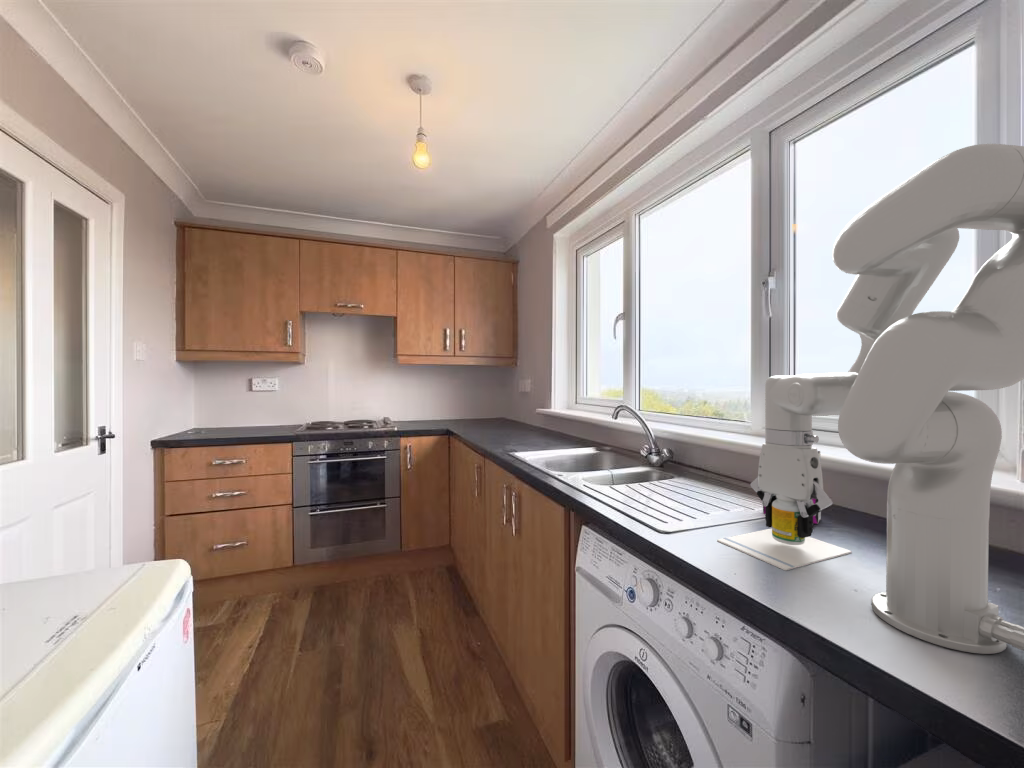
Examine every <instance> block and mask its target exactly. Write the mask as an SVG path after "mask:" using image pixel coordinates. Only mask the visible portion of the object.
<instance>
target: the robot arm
mask: <svg viewBox="0 0 1024 768" xmlns="http://www.w3.org/2000/svg"><path fill="white" fill-rule="evenodd" d="M959 229H967V230H981V231H982V230H983V231H985V230H987V231H1006V232H1008V233H1010V234H1012V237H1011V239H1010V240H1009V241H1008V242H1007V243H1006V244H1005V245H1004V246H1002V247H1001V248H1000V249H999V250H997V251H996V252H994V254H993V255H991V257H990V258H989V259H988V260H986V261H985V263H984V264H983V265H981V267H980V268H979V269H978V271H977V272H976V274H975V275H974V277H973V278H972V280H971V282H970V284H969V286H968V288H967V290H966V292H965V293H964V295H963V296H962V298H961V299H960V301H959V302H958V303H957V305H956V306H955V307H954V308H953V309H952V310H951V311H948V310H947V311H946V310H945V311H943V310H941V311H939V310H938V311H923V312H917V313H914V312H915V310H916V309H917V308H918V306H919V304H920V303H921V302H922V300H923V298H925V296H926V294H927V293H928V291H929V290H930V288H931V287H932V286H933V284H934V283H935V281H936V280H937V278H938V277H939V276H940V274H941V272H942V271H943V269H944V267H945V266H946V265H947V263H948V262H949V261H950V259H951V257H952V256H953V255H954V253H955V251H956V249H957V246H958V245H959V243H960V242H959V241H960V231H959ZM831 258H832V260H833V263H834V266H835V267H836V268H837V269H838V270H839V271H841V272H843V273H846V274H849V275H856V276H855V278H854V280H853V282H852V283H851V285H850V287H849V288H848V291H847V293H846V294H845V296H844V298H843V300H842V301H841V304H840V305H839V307H838V308H837V310H836V319H837V320H838V322H839V323H840V324H841V325H842V326H843V327H845V328H846V329H848V330H850V331H852V332H854V333H856V334H858V335H859V337H860V340H861V341H860V342H861V346H860V347H861V348H860V351H859V353H858V355H857V358H856V359H855V360H854V362H853V364H852V365H851V367H850V369H849V370H848V372H825V373H824V372H823V373H816V372H814V373H813V372H812V373H810V372H809V373H802V374H795V375H793V374H792V375H791V374H790V375H789V374H788V375H786V374H784V375H773V376H769V377H768V378H767V379H766V380H765V383H764V384H765V385H764V386H765V387H764V388H765V389H764V391H765V393H764V394H765V397H764V398H765V399H764V400H765V403H764V406H765V407H764V409H765V410H764V411H765V412H764V413H765V414H764V415H765V416H764V417H765V421H764V422H765V430H764V434H765V437H764V439H765V442H762V445H761V448H760V454H759V461H758V468H757V469H758V470H757V472H758V473H757V476H756V478H755V479H754V480H753V481H751V483H750V484H749V485H750V488H752V490H753V491H754V492H755V493H756V495H757V496H758V498H759V499H760V501H761V505H762V506H763V505H764V506H765V514H764V517H765V525H766V526H765V527H767V528H772V502H773V501H774V500H777V499H778V498H776V495H780V494H782V495H783V496H785V497H788V498H790V499H794V500H796V501H797V504H798V507H799V510H800V514H801V516H798V517H797V535H798V537H800V538H805V537H811V536H812V534H813V532H814V523H813V516H815V515H816V514H817V513H819V512H820V511H821V512H822V511H823V510H825V509H826V508H828V507H831V506H832V505H833V504H834V503H833V500H832V499H831V497H829V495H828V494H827V492H825V490H824V481H823V479H824V478H823V471H822V470H823V469H822V464H821V457H820V458H819V454H818V451H819V450H818V448H817V447H813V446H812V445H813V444H814V443H815V444H816V443H819V440H820V438H819V436H818V435H814V434H813V433H814V432H813V427H812V426H813V419H812V417H824V416H825V417H828V416H829V417H830V416H838V420H837V431H838V435H839V439H840V441H841V443H842V444H843V446H844V448H845V449H847V451H848V452H849V453H850V454H852V455H853V456H854V457H856V458H859V459H860V460H863V461H865V462H870V463H874V464H889V465H891V464H892V465H894V464H895V465H894V466H893V470H892V472H891V474H890V477H889V481H888V486H887V495H886V496H887V498H886V555H885V556H886V557H885V559H886V565H885V567H886V568H885V570H886V572H885V573H886V575H885V579H886V580H885V582H886V583H885V591H883V592H879V593H876V594H874V595H873V596H871V609H872V610H873V612H874V613H875V614H876V615H877V616H878V617H879V618H880V619H882V620H883V621H885V622H886V623H888V624H889V625H891V626H892V627H894V628H895V629H897V630H899V631H901V632H903V633H905V634H907V635H910V636H912V637H915V638H917V639H919V640H922V641H924V642H927V643H931V644H934V645H937V646H940V647H943V648H947V649H951V650H955V651H960V652H965V653H971V654H980V655H982V654H983V655H990V654H991V655H992V654H998V653H1002V652H1004V651H1005V650H1006V648H1007V647H1008V646H1007V645H1011V647H1014V648H1015V649H1019V650H1021V651H1023V652H1024V626H1022V625H1019V624H1017V623H1012V622H1009V621H1006V620H1004V617H1003V616H1000V615H999V605H998V604H995V603H993V602H989V543H990V542H989V540H990V539H989V537H990V536H989V535H990V533H989V532H990V531H989V530H990V525H989V524H990V515H991V514H990V510H991V508H990V506H991V502H990V501H991V488H992V487H991V485H992V478H993V475H994V471H995V470H994V469H995V465H996V462H997V459H998V456H999V453H1000V448H1001V443H1002V437H1003V436H1002V435H1003V434H1002V432H1003V431H1002V424H1001V422H1000V420H999V417H998V416H997V413H995V411H994V410H993V409H992V408H991V407H990V406H989V405H988V404H986V403H985V402H984V401H982V400H980V399H978V398H977V397H975V396H972V395H968V394H965V393H961V392H963V391H964V392H965V391H966V392H967V391H992V390H993V391H994V390H1001V389H1005V388H1009V387H1012V386H1014V385H1016V384H1018V383H1019V382H1021V381H1022V380H1024V145H1013V144H1005V143H1004V144H1003V143H982V144H979V143H978V144H973V145H969V146H966V147H963V148H962V147H961V148H959V149H956V150H953V151H951V152H950V153H947V154H945V155H944V156H942V157H940V158H938V159H936V160H934V161H933V162H931V163H929V164H928V165H926V166H925V167H923V168H922V169H921V170H919V171H918V172H916V173H915V174H913V175H911V176H910V177H909V178H907V179H906V180H904V181H903V182H901V183H900V184H899V185H897V186H895V187H894V188H893V189H891V190H890V191H889V192H887V193H885V194H884V195H882V196H881V197H879V198H878V199H877V200H875V201H873V203H871V204H870V205H868V206H867V207H865V208H864V209H863V210H862V211H860V212H859V213H858V214H856V215H855V216H854V217H853V218H852V219H851V220H850V221H849V222H847V224H846V225H845V227H844V228H843V229H842V230H841V231H840V233H839V235H838V236H837V237H836V239H835V242H834V244H833V247H832V257H831ZM913 313H914V314H913ZM960 391H961V392H960ZM812 499H818V502H817V503H816V504H813V501H812Z"/></svg>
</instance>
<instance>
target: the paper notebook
mask: <svg viewBox="0 0 1024 768" xmlns="http://www.w3.org/2000/svg"><path fill="white" fill-rule="evenodd" d="M716 541H717V542H718V543H721V544H724V545H726V546H728V547H730V548H732V549H735V550H737V551H740V552H742V553H744V554H746V555H749V556H751V557H753V558H755V559H757V560H760V561H762V562H765V563H767V564H769V565H772V566H774V567H776V568H779V569H781V570H783V571H786V572H787V571H789V570H792V569H796V568H800V567H804V566H808V565H812V564H814V563H815V564H816V563H818V562H823V561H827V560H830V559H834V558H837V557H842V556H845V555H850V554H852V553H853V551H852V550H849V549H847V548H844V547H840V546H838V545H835V544H832V543H829V542H826V541H823V540H819V539H818V538H814V537H811V536H809V537H805V542H804V544H802V545H789V544H784V543H781V542H778V541H776V540H775V539H774V538H773V537H772V527H770V528H768V529H767V528H766V529H762V530H757V531H753V532H748V533H743V534H737V535H734V536H727V537H722V538H718V539H717V540H716Z"/></svg>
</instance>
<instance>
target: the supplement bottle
mask: <svg viewBox="0 0 1024 768" xmlns="http://www.w3.org/2000/svg"><path fill="white" fill-rule="evenodd" d="M776 498H778V499H777V500H774V501H773V502H772V527H771V528H772V537H773V538H774V539H775V540H776V541H778V542H781V543H784V544H789V545H802V544H804V542H805V538H800V537H798V535H797V517H798V516H801V514H800V510H799V507H798V504H797V501H796V500H794V499H790V498H788V497H785V496H783V495H782V494H780V495H776Z"/></svg>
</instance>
